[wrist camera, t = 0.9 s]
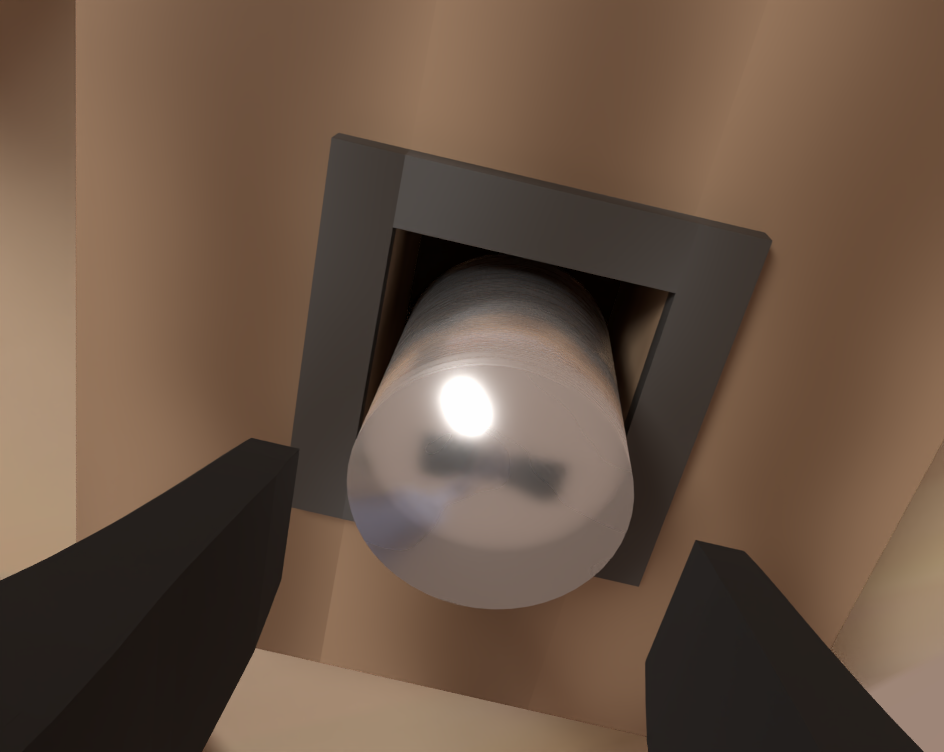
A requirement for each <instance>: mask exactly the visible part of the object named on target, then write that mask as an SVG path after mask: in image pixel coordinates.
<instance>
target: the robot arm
mask: <svg viewBox="0 0 944 752" xmlns="http://www.w3.org/2000/svg"><path fill="white" fill-rule="evenodd" d="M299 451H300V449H298V448H294V447H290V446H285V445H281V444H277V443H272V442H268V441H264V440H259V439H255V438H250V439H248V440H246V441H244V442H243V443H241V444H239V445H238V446H236V447H235V448H233V449H231V450H230V451H228V452H227V453H225V454H223V455H222V456H220V457H219V458H217V459H216V460H214V461H213V462H211V463H209V464H208V465H206V466H205V467H203V468H202V469H200V470H199V471H197V472H196V473H194V474H192V475H191V476H189V477H188V478H186V479H185V480H183V481H181V482H180V483H178V484H177V485H175V486H174V487H172V488H170V489H169V490H167V491H165V492H164V493H162V494H161V495H159V496H157V497H156V498H154V499H152V500H151V501H149V502H147V503H146V504H144V505H142V506H141V507H139V508H137V509H136V510H134V511H132V512H131V513H129V514H127V515H126V516H124V517H122V518H121V519H119V520H117V521H115V522H114V523H112V524H110V525H108V526H107V527H105V528H103V529H101V530H99V531H97V532H95V533H94V534H92V535H90V536H88V537H86V538H84V539H82V540H81V541H79V542H77V543H75V544H73V545H71V546H69V547H68V548H66V549H64V550H62V551H60V552H58V553H57V554H55V555H53V556H51V557H49V558H47V559H45V560H43V561H41V562H39V563H37V564H35V565H33V566H31V567H28V568H26V569H24V570H22V571H20V572H18V573H16V574H13V575H11V576H9V577H7V578H5V579H3V580H0V752H202V751H203V749H204V747H205V745H206V743H207V741H208V739H209V737H210V735H211V733H212V732H213V730H214V728H215V726H216V724H217V722H218V720H219V718H220V716H221V714H222V713H223V711H224V709H225V707H226V705H227V703H228V701H229V699H230V697H231V695H232V693H233V691H234V689H235V688H236V686H237V684H238V682H239V680H240V678H241V676H242V674H243V672H244V670H245V668H246V666H247V664H248V662H249V660H250V658H251V657H252V655H253V653H254V650H255V648H256V645H257V643H258V640H259V638H260V635H261V632H262V630H263V627H264V625H265V622H266V620H267V617H268V614H269V612H270V609H271V606H272V604H273V601H274V598H275V596H276V593H277V590H278V588H279V585H280V582H281V579H282V573H283V566H284V558H285V551H286V544H287V537H288V530H289V523H290V515H291V508H292V501H293V494H294V487H295V480H296V472H297V465H298V458H299ZM645 703H646V731H647V745H648V752H923V751H922V749H921V748H920V747H919V746H918V745H917V744H916V743H915V742H914V741H913V740H912V739H911V738H910V737H909V736H908V735H907V734H906V733H905V732H904V731H903V730H902V729H901V728H900V727H899V726H898V724H896V723H895V721H894V720H893V719H892V718H891V717H890V716H889V715H888V714H887V713H886V712H885V711H884V710H883V708H882V707H881V706H880V705H879V704H878V703H877V702H876V701H875V700H874V699H873V698H872V696H871V695H870V694H869V693H868V692H867V691H866V690H865V689H864V688H863V686H862V685H861V684H860V683H859V682H858V681H857V680H856V679H855V678H854V676H853V675H852V674H851V673H850V672H849V671H848V670H847V668H846V667H845V666H844V665H843V664H842V663H841V662H840V660H839V659H838V658H837V657H836V656H835V655H834V654H833V652H832V651H831V650H830V649H829V648H828V647H827V645H826V644H825V643H824V642H823V641H822V640H821V638H820V637H819V636H818V635H817V634H816V633H815V631H814V630H813V629H812V628H811V627H810V625H809V624H808V623H807V622H806V621H805V620H804V618H803V617H802V616H801V615H800V614H799V612H798V611H797V610H796V609H795V608H794V607H793V605H792V604H791V603H790V602H789V601H788V600H787V598H786V597H785V596H784V595H783V594H782V592H781V591H780V590H779V589H778V588H777V587H776V585H775V584H774V583H773V582H772V581H771V580H770V578H769V577H768V576H767V575H766V574H765V573H764V572H763V570H762V569H761V568H760V567H759V566H758V565H757V564H756V563H755V562H754V561H753V560H752V558H751V557H750V556H749V555H748V554H747V553H746V552H745V551H742V550H738V549H734V548H729V547H725V546H720V545H716V544H712V543H707V542H703V541H699V540H695V542H694V545H693V547H692V550H691V552H690V554H689V557H688V559H687V562H686V564H685V566H684V569H683V571H682V574H681V576H680V579H679V581H678V583H677V586H676V588H675V591H674V593H673V596H672V598H671V600H670V603H669V605H668V608H667V610H666V612H665V615H664V617H663V620H662V622H661V625H660V627H659V629H658V632H657V634H656V637H655V639H654V642H653V644H652V646H651V649H650V651H649V654H648V656H647V658H646V661H645Z"/></svg>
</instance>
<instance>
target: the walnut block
mask: <svg viewBox="0 0 944 752" xmlns="http://www.w3.org/2000/svg"><path fill="white" fill-rule="evenodd" d="M422 234H424V235H428V236H432V237H437V238H441V239H445V240H449V241H454V242H458V243H462V244H467V245H471V246H475V247H479V248H484V249H488V250H492V251H497V252H501V253H505V254H509V255H514V256H518V257H522V258H527V259H531V260H535V261H539V262H544V263H548V264H552V265H557V266H561V267H565V268H569V269H574V270H578V271H582V272H587V273H591V274H595V275H599V276H604V277H608V278H612V279H617V280H621V283H620V286H619V289H618V293H617V296H616V299H615V302H614V306H613V309H612V312H611V315H610V319H609V322H608V325H607V328H608V333H609V338H610V344H611V350H612V356H613V362H614V368H615V374H616V380H617V386H618V392H619V398H620V404H621V410H622V416H623V422H624V428H625V434H626V440H627V446H628V452H629V458H630V464H631V470H632V476H633V484H634V502H633V511H632V516H631V519H630V523H629V527H628V530H627V532H626V534H625V536H624V538H623V541H622V543H621V544H620V546H619V548H618V549H617V551H616V552H615V554H614V555H613V557H612V558H611V559H610V560H609V561H608V563H607V564H606V565H605V566H604V567H603V568H602V569H601V570H600V571H599V572H598V573H597V574H596V575H594V576H593V577H592V578H591V579H590V580H588V581H587V582H585V583H584V584H583V585H581V586H580V587H578V588H577V589H575V590H573V591H571V592H569V593H567V594H565V595H563V596H561V597H558V598H556V599H553V600H550V601H547V602H545V603H541V604H537V605H533V606H528V607H521V608H514V609H482V608H473V607H467V606H462V605H457V604H454V603H450V602H447V601H443V600H440V599H438V598H435V597H433V596H430V595H428V594H426V593H424V592H422V591H420V590H418V589H416V588H414V587H412V586H411V585H409V584H408V583H406V582H405V581H403V580H402V579H400V578H399V577H397V576H396V575H395V574H394V573H393V572H392V571H390V570H389V569H388V568H387V567H386V566H385V565H384V564H383V563H382V562H381V561H380V560H379V559H378V558H377V557H376V556H375V555H374V554H373V552H372V551H371V549H370V548H369V547H368V545H367V544H366V542H365V541H364V539H363V537H362V536H361V534H360V532H359V530H358V528H357V526H356V523H355V521H354V518H353V515H352V513H351V509H350V504H349V500H348V492H347V472H348V463H349V459H350V456H351V452H352V448H353V446H354V443H355V441H356V439H357V436H358V434H359V432H360V430H361V427H362V425H363V423H364V420H365V418H366V416H367V413H368V411H369V409H370V407H371V404H372V402H373V400H374V397H375V395H376V393H377V390H378V388H379V386H380V384H381V381H382V379H383V377H384V374H385V372H386V370H387V367H388V365H389V363H390V361H391V358H392V356H393V354H394V351H395V349H396V347H397V344H398V342H399V340H400V338H401V335H402V333H403V331H404V326H405V321H406V315H407V310H408V305H409V300H410V295H411V289H412V284H413V279H414V274H415V268H416V263H417V258H418V253H419V247H420V242H421V237H422ZM250 438H255V439H259V440H264V441H268V442H272V443H277V444H281V445H285V446H290V447H294V448H298V449H300V451H299V458H298V465H297V472H296V480H295V487H294V494H293V501H292V508H291V515H290V523H289V530H288V537H287V544H286V551H285V558H284V566H283V573H282V579H281V582H280V585H279V588H278V590H277V593H276V596H275V598H274V601H273V604H272V606H271V609H270V612H269V614H268V617H267V620H266V622H265V625H264V627H263V630H262V632H261V635H260V638H259V640H258V643H257V645H256V648H258V649H263V650H267V651H271V652H276V653H280V654H285V655H289V656H293V657H298V658H302V659H307V660H311V661H316V662H320V663H324V664H329V665H333V666H338V667H342V668H346V669H351V670H355V671H360V672H364V673H368V674H373V675H377V676H382V677H386V678H391V679H395V680H399V681H404V682H408V683H413V684H417V685H421V686H426V687H430V688H435V689H439V690H443V691H448V692H452V693H457V694H461V695H465V696H470V697H474V698H479V699H483V700H488V701H492V702H496V703H501V704H505V705H510V706H514V707H518V708H523V709H527V710H532V711H536V712H540V713H545V714H549V715H554V716H558V717H563V718H567V719H571V720H576V721H580V722H585V723H589V724H593V725H598V726H602V727H607V728H611V729H615V730H620V731H624V732H629V733H633V734H638V735H642V736H646V737H647V731H646V703H645V661H646V658H647V656H648V654H649V651H650V649H651V646H652V644H653V642H654V639H655V637H656V634H657V632H658V629H659V627H660V625H661V622H662V620H663V617H664V615H665V612H666V610H667V608H668V605H669V603H670V600H671V598H672V596H673V593H674V591H675V588H676V586H677V583H678V581H679V579H680V576H681V574H682V571H683V569H684V566H685V564H686V562H687V559H688V557H689V554H690V552H691V550H692V547H693V545H694V542H695V540H699V541H703V542H707V543H712V544H716V545H720V546H725V547H729V548H734V549H738V550H742V551H745V552H746V553H747V554H748V555H749V556H750V557H751V558H752V560H753V561H754V562H755V563H756V564H757V565H758V566H759V567H760V568H761V569H762V570H763V572H764V573H765V574H766V575H767V576H768V577H769V578H770V580H771V581H772V582H773V583H774V584H775V585H776V587H777V588H778V589H779V590H780V591H781V592H782V594H783V595H784V596H785V597H786V598H787V600H788V601H789V602H790V603H791V604H792V605H793V607H794V608H795V609H796V610H797V611H798V612H799V614H800V615H801V616H802V617H803V618H804V620H805V621H806V622H807V623H808V624H809V625H810V627H811V628H812V629H813V630H814V631H815V633H816V634H817V635H818V636H819V637H820V638H821V640H822V641H823V642H824V643H825V644H826V645H827V647H828V648H829V649H830V648H831V646H832V645H833V643H834V641H835V639H836V637H837V635H838V634H839V632H840V630H841V628H842V626H843V624H844V622H845V621H846V619H847V617H848V615H849V613H850V611H851V610H852V608H853V606H854V604H855V602H856V600H857V599H858V597H859V595H860V593H861V591H862V589H863V588H864V586H865V584H866V582H867V580H868V578H869V576H870V575H871V573H872V571H873V569H874V567H875V565H876V564H877V562H878V560H879V558H880V556H881V554H882V553H883V551H884V549H885V547H886V545H887V543H888V541H889V540H890V538H891V536H892V534H893V532H894V530H895V529H896V527H897V525H898V523H899V521H900V519H901V518H902V516H903V514H904V512H905V510H906V508H907V506H908V505H909V503H910V501H911V499H912V497H913V495H914V494H915V492H916V490H917V488H918V486H919V484H920V483H921V481H922V479H923V477H924V475H925V473H926V471H927V470H928V468H929V466H930V464H931V462H932V460H933V459H934V457H935V455H936V453H937V451H938V449H939V448H940V446H941V444H942V442H943V440H944V0H76V543H77V542H79V541H81V540H82V539H84V538H86V537H88V536H90V535H92V534H94V533H95V532H97V531H99V530H101V529H103V528H105V527H107V526H108V525H110V524H112V523H114V522H115V521H117V520H119V519H121V518H122V517H124V516H126V515H127V514H129V513H131V512H132V511H134V510H136V509H137V508H139V507H141V506H142V505H144V504H146V503H147V502H149V501H151V500H152V499H154V498H156V497H157V496H159V495H161V494H162V493H164V492H165V491H167V490H169V489H170V488H172V487H174V486H175V485H177V484H178V483H180V482H181V481H183V480H185V479H186V478H188V477H189V476H191V475H192V474H194V473H196V472H197V471H199V470H200V469H202V468H203V467H205V466H206V465H208V464H209V463H211V462H213V461H214V460H216V459H217V458H219V457H220V456H222V455H223V454H225V453H227V452H228V451H230V450H231V449H233V448H235V447H236V446H238V445H239V444H241V443H243V442H244V441H246V440H248V439H250Z"/></svg>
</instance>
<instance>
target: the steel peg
mask: <svg viewBox="0 0 944 752" xmlns="http://www.w3.org/2000/svg"><path fill="white" fill-rule="evenodd" d="M347 492H348V500H349V504H350V509H351V513H352V515H353V518H354V521H355V523H356V526H357V528H358V530H359V532H360V534H361V536H362V537H363V539H364V541H365V542H366V544H367V545H368V547H369V548H370V549H371V551H372V552H373V554H374V555H375V556H376V557H377V558H378V559H379V560H380V561H381V562H382V563H383V564H384V565H385V566H386V567H387V568H388V569H389V570H390V571H392V572H393V573H394V574H395V575H396V576H397V577H399V578H400V579H402V580H403V581H405V582H406V583H408V584H409V585H411V586H412V587H414V588H416V589H418V590H420V591H422V592H424V593H426V594H428V595H430V596H433V597H435V598H438V599H440V600H443V601H447V602H450V603H454V604H457V605H462V606H467V607H473V608H482V609H514V608H521V607H528V606H533V605H537V604H541V603H545V602H547V601H550V600H553V599H556V598H558V597H561V596H563V595H565V594H567V593H569V592H571V591H573V590H575V589H577V588H578V587H580V586H581V585H583V584H584V583H585V582H587V581H588V580H590V579H591V578H592V577H593V576H594V575H596V574H597V573H598V572H599V571H600V570H601V569H602V568H603V567H604V566H605V565H606V564H607V563H608V561H609V560H610V559H611V558H612V557H613V555H614V554H615V552H616V551H617V549H618V548H619V546H620V544H621V543H622V541H623V538H624V536H625V534H626V532H627V530H628V527H629V523H630V519H631V516H632V511H633V502H634V484H633V476H632V470H631V464H630V458H629V452H628V446H627V440H626V434H625V428H624V422H623V416H622V410H621V404H620V398H619V392H618V386H617V380H616V374H615V368H614V362H613V356H612V350H611V344H610V338H609V333H608V328H607V325H606V322H605V319H604V316H603V314H602V312H601V310H600V308H599V306H598V304H597V303H596V301H595V300H594V298H593V297H592V295H591V294H590V293H589V292H588V290H587V289H586V288H585V287H584V286H583V285H582V284H581V283H580V282H579V281H578V280H576V279H575V278H574V277H573V276H571V275H570V274H569V273H567V272H566V271H564V270H562V269H561V268H559V267H558V266H555V265H552V264H548V263H544V262H539V261H535V260H531V259H527V258H522V257H518V256H514V255H509V254H493V255H486V256H481V257H476V258H473V259H470V260H467V261H465V262H462V263H460V264H458V265H456V266H454V267H452V268H450V269H449V270H447V271H446V272H444V273H443V274H441V275H440V276H439V277H438V278H436V279H435V280H434V281H433V282H432V283H431V284H430V285H429V286H428V287H427V288H426V290H425V291H424V292H423V293H422V295H421V296H420V297H419V299H418V301H417V302H416V304H415V306H414V308H413V310H412V312H411V315H410V317H409V319H408V321H407V324H406V326H405V328H404V331H403V333H402V335H401V338H400V340H399V342H398V344H397V347H396V349H395V351H394V354H393V356H392V358H391V361H390V363H389V365H388V367H387V370H386V372H385V374H384V377H383V379H382V381H381V384H380V386H379V388H378V390H377V393H376V395H375V397H374V400H373V402H372V404H371V407H370V409H369V411H368V413H367V416H366V418H365V420H364V423H363V425H362V427H361V430H360V432H359V434H358V436H357V439H356V441H355V443H354V446H353V448H352V452H351V456H350V459H349V463H348V472H347Z"/></svg>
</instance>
